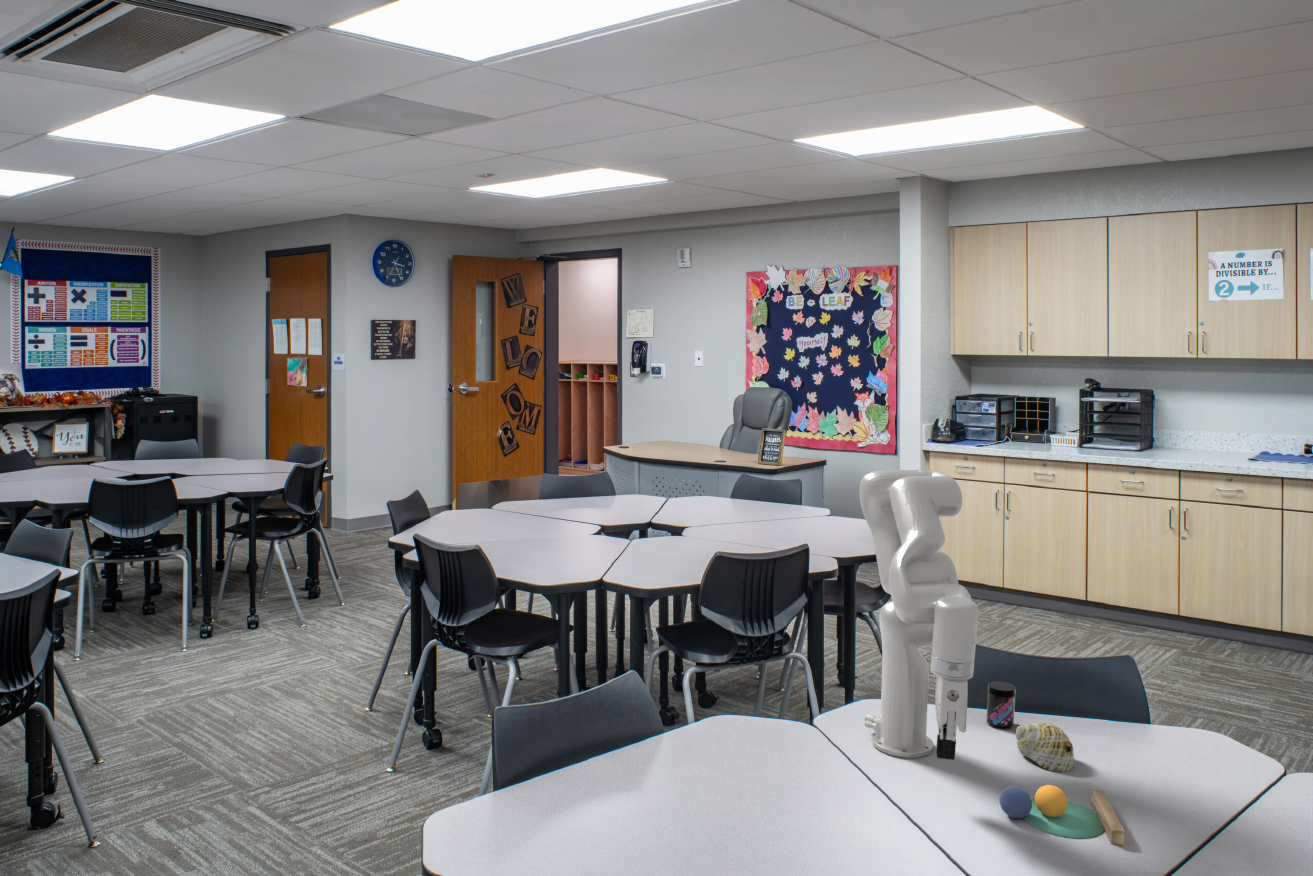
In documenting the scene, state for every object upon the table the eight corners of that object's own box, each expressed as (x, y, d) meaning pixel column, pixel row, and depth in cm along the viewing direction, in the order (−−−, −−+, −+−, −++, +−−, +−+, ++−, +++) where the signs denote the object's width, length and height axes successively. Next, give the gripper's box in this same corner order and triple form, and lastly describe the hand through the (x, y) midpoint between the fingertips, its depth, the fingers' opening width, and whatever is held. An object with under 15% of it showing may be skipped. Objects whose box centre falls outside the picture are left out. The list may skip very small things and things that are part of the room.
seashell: (1085, 770, 188) (1064, 725, 188) (1037, 788, 191) (1015, 744, 190) (1071, 745, 199) (1050, 702, 198) (1025, 762, 201) (1004, 720, 200)
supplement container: (982, 725, 212) (984, 686, 211) (990, 717, 216) (992, 679, 215) (1009, 732, 208) (1011, 693, 207) (1017, 724, 213) (1019, 685, 212)
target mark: (1027, 833, 166) (1027, 832, 166) (1015, 795, 179) (1015, 794, 179) (1113, 843, 163) (1113, 841, 163) (1094, 803, 176) (1094, 802, 176)
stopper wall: (1111, 844, 163) (1112, 830, 162) (1090, 802, 177) (1091, 789, 177) (1123, 845, 162) (1124, 831, 162) (1102, 803, 177) (1103, 790, 176)
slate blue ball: (1010, 828, 171) (990, 804, 171) (1016, 808, 175) (996, 785, 175) (1035, 820, 167) (1014, 795, 168) (1041, 799, 171) (1020, 775, 172)
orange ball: (1079, 803, 170) (1062, 826, 171) (1058, 782, 175) (1041, 805, 176) (1060, 796, 168) (1043, 820, 169) (1039, 775, 172) (1022, 799, 173)
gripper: (978, 684, 165) (970, 780, 168) (969, 650, 179) (962, 740, 182) (933, 679, 166) (926, 775, 170) (928, 646, 181) (922, 735, 184)
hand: (945, 756), depth 176 cm, fingers closed
